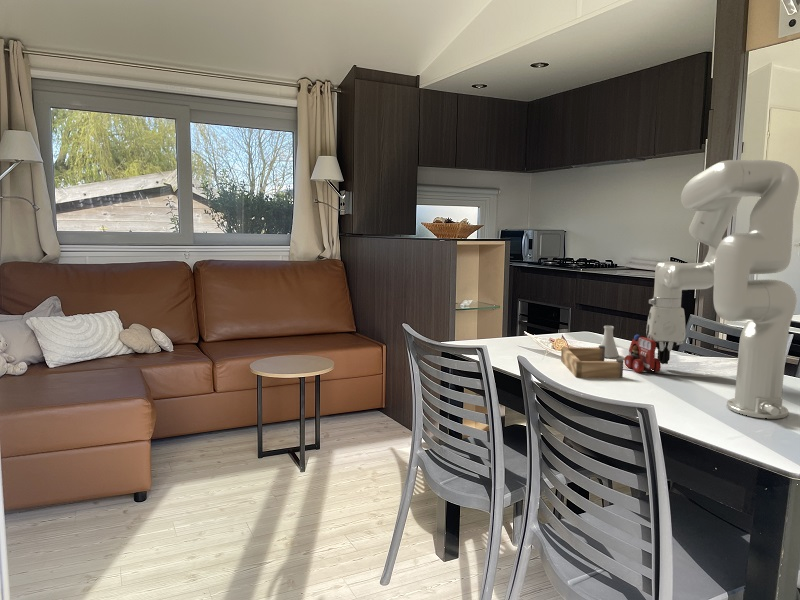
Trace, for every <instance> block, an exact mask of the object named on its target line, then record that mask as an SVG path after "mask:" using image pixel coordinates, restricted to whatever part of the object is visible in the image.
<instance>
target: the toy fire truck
mask: <svg viewBox="0 0 800 600" xmlns="http://www.w3.org/2000/svg"><path fill="white" fill-rule="evenodd" d="M628 348H629V349H628V355H626V356H625V357H624V360H623V363H624V365H626V366H627V367H628V368H627V367H626V366H625V367H626V368H627V369H632V370H633V371H634V372H635V373H637V374H640V373H643V371H644V370H645V371H646V370H650V369H652V370H654V371H658V372H660V370H661V365H662V364H661V363H660V361H659V360H658V359H657V358H656V355H655V354H656V352H655V351H656V349H657V348H656V342H655V341H653V340H651V339H648V338H647V337H643V336H641V335H640V334H635V335H634V337H633V338H632V340H631V342H630V346H629V347H628Z"/></svg>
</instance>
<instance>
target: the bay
mask: <svg viewBox="0 0 800 600" xmlns="http://www.w3.org/2000/svg"><path fill="white" fill-rule="evenodd" d="M605 358H606V357H605V346H603V345H598V347H581V346H579V347H577V346H575V347H574V346H573V347H568V346H566V347H564V346H563V347H561V357H560V361H561V362H562V364H563V365H564V366H565V367H566V368H567V369H568V370H569V371H570V373H572V374H573V376H574V377H575V378H596V379H597V378H598V379H601V378H602V379H604V378H605V379H607V378H610V379H623V378H624V377H623V375H624V360H623V358H615V359H616V361H614V360H613V361H611V360H610V361H609V360H608V361H607V360H605Z"/></svg>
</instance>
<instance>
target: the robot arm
mask: <svg viewBox="0 0 800 600" xmlns="http://www.w3.org/2000/svg"><path fill="white" fill-rule="evenodd" d="M798 176H799V175H798V174H797V171H796V170H795V169H794V168H793V167H792V166H791V165H789V164H788V163H785V162H783V161H777V160H769V159H768V160H767V159H748V160H747V159H745V160H744V159H727V160H721V161H719V162H717V163H715V164H713V165H711V166H710V167H707V168H705V169H704V170H703V171H701V172H699V173H698V174H696V175H695V176H693V177H692V178H690V180H688V181H687V182H686V184H685V185H684V187H683V189H682V191H681V194H680V202H681V205H682V207H683V208H684V209H685V210H686V211H690V212H695V214H694V216H693V218H692V221H691V222H690V225H689V227H688V234H689V235H690V236H691V237H692V238H693V239H694V240H696V241H698V242H699V243H702V244H704V245H707V246H708V250H707V254H706V256H705V258H704V261H703V262H693V263H692V262H687V263H686V262H684V263H681V262H679V261H659V262H657V264H656V266H655V273H654V286H653V288H654V289H653V290H654V291H653V296H652V298H650V299H648V304H649V305H652V306H650V309H649V314H648V316H647V321H646V323H647V324H646V332H645V333H646V335H645V336H646V338H648V339H651V340H653V341H655V342H656V349H657V359H658V360H659V361H660V365H664V364H665V365H668V364H669V361H670V357H671V356H670V355H671V351H672V350H673V349H674V348H675V347H676V346H680V345H683V344H684V341H685V340H686V339H685V338H686V315H685V309H684V308H683V307H682V297H683V296H682V295H683V293H682V292H683V291H688V290H707V289H710V288H712V287H713V293H712V294H713V295H712V296H713V297H712V299H713V308H714V310H715V312H716V314H717V316H718V317H719V318H720V319H722V320H724V321H726V322H727V321H728V322H746V323H745V325H744V326H743V328H742V330H741V333H740V338H739V345H738V353H737V355H738V356H737V367H736V368H737V369H736V376H735V377H736V378H735V379H736V380H735V390H734V391H735V393H734V398H730V399H728V400H727V401H726V407H727V409H729V410H730V411H731V412H735V413H736V414H739V413H740V415H742V414H743V416H746V415H747V417H752V418H757V419H765V418H767V419H766V420H768V419H769V420H774V419H775V420H776V419H778V420H779V419H783V418H786V417H787V416H789V409H788V408H787V407H786V406H784V405H783V398H782V396H783V387H784V386H783V385H784V376H785V365H786V356H787V355H786V354H787V348H788V340H789V339H788V338H789V331H790V328H791V327H790V326H791V322H792V319H793V317H794V313H795V312H796V308H797V301H798V299H797V295H796V292H795V290H794V288H793V287H792V286H791V285H789V284H788V283H787V282H784V281H782V280H778V279H751V280H750V279H749V275H765V274H766V275H768V274H769V275H770V274H778V273H781V272H783V271H785V270H787V268H788V267H789V265H790V263H791V260H792V259H791V258H792V247H793V233H794V213H795V208H796V203H797V199H798V195H799V189H800V182H799V180H800V179H799V177H798ZM742 197H743V198H746V197H760V198H759V199H758V200H757V202H756V203H755V205H754V206H753V208H752V210H751V211H750V212H751V213H750V215H749V226H748V227H749V228H748V232H736V233H732V234H729V235H727V236H725V237H724V235H725V232H726V231H727V229H728V227H729V224H730V222H731V220H732V218H733V216H734V215H735V212H736V210H737V208H738V206H739V203H740V202H741V199H742Z"/></svg>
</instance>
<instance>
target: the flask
mask: <svg viewBox="0 0 800 600" xmlns="http://www.w3.org/2000/svg"><path fill="white" fill-rule="evenodd" d="M603 329H604V333H603V337H602V340H601V343H600V345H603V346H605V357H604V358H608V359H613V358H615V359H618V358H619V356H620V355H619V351H618V349H617V345H616V341H615V339H614V338H615V337H614V329H615V326H613V325H604V326H603Z"/></svg>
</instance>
